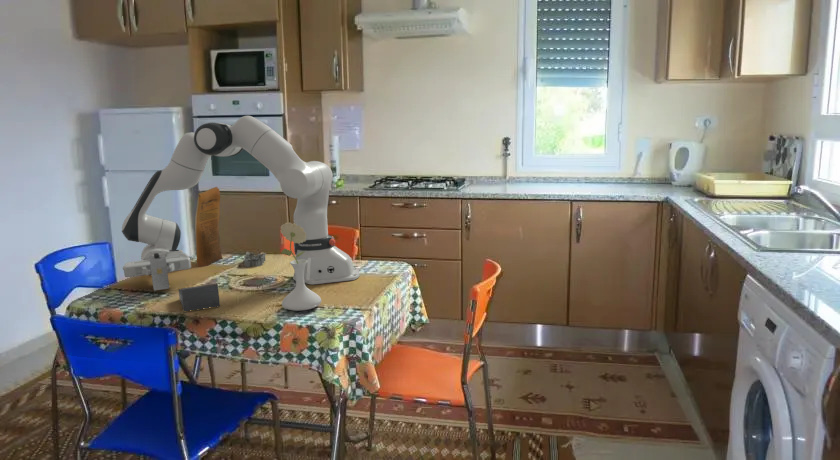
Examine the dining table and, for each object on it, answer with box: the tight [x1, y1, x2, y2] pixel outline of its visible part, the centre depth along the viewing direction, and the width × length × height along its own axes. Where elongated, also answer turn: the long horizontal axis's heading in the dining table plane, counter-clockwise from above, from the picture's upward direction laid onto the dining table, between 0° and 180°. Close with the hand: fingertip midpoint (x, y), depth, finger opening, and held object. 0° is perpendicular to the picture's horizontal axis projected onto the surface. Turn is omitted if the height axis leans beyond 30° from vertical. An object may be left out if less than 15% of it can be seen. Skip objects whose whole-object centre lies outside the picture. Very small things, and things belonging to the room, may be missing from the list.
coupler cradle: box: [178, 283, 221, 312], centre depth 190 cm, size 14×10×7 cm
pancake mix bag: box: [194, 186, 223, 268], centre depth 238 cm, size 7×19×28 cm, turn 168°
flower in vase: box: [280, 222, 323, 312], centre depth 181 cm, size 13×11×25 cm
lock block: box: [149, 253, 170, 292], centre depth 200 cm, size 6×5×11 cm
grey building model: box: [242, 250, 267, 268], centre depth 237 cm, size 11×8×4 cm
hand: (159, 271), depth 199 cm, fingers closed on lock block, 5 cm apart
